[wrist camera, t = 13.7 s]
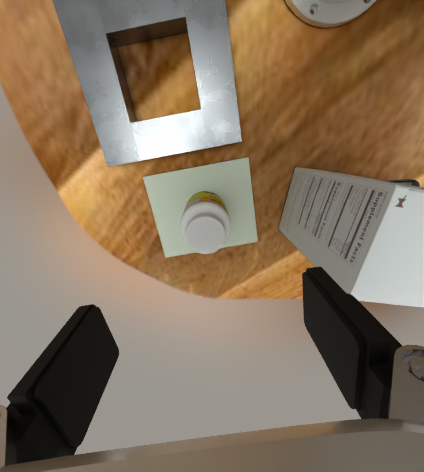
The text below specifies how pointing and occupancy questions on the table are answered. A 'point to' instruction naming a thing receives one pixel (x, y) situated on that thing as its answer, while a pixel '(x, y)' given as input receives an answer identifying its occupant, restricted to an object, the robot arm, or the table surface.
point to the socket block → (114, 83)
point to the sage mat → (197, 180)
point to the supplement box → (359, 233)
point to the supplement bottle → (205, 223)
